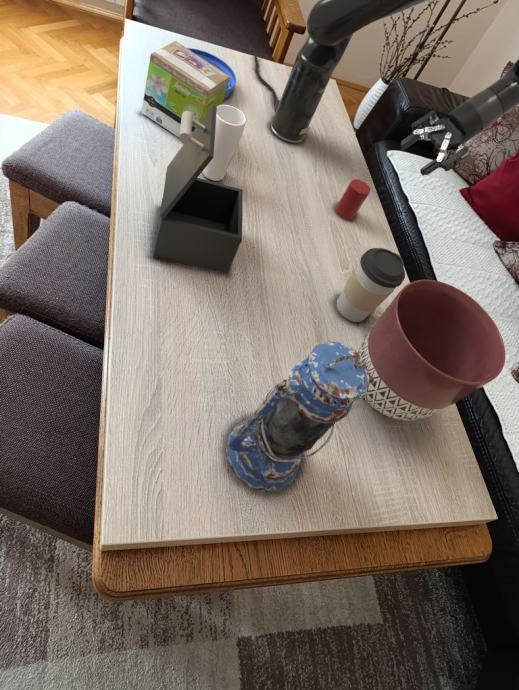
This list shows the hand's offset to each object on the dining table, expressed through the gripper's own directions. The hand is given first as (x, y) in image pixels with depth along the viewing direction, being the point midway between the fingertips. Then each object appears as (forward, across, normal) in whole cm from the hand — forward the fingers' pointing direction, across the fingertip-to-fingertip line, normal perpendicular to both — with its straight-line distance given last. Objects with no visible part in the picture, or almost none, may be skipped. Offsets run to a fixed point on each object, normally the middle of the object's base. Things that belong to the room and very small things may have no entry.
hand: (411, 160), depth 116 cm
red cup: (+18, 0, +2) cm, 19 cm away
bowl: (+31, -50, -10) cm, 60 cm away
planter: (+33, +45, -12) cm, 57 cm away
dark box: (+48, +3, -27) cm, 55 cm away
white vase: (+39, -16, -18) cm, 46 cm away
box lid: (+38, +1, -42) cm, 57 cm away
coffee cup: (+30, +26, -8) cm, 40 cm away
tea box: (+40, -33, -19) cm, 55 cm away
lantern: (+53, +47, -32) cm, 78 cm away
